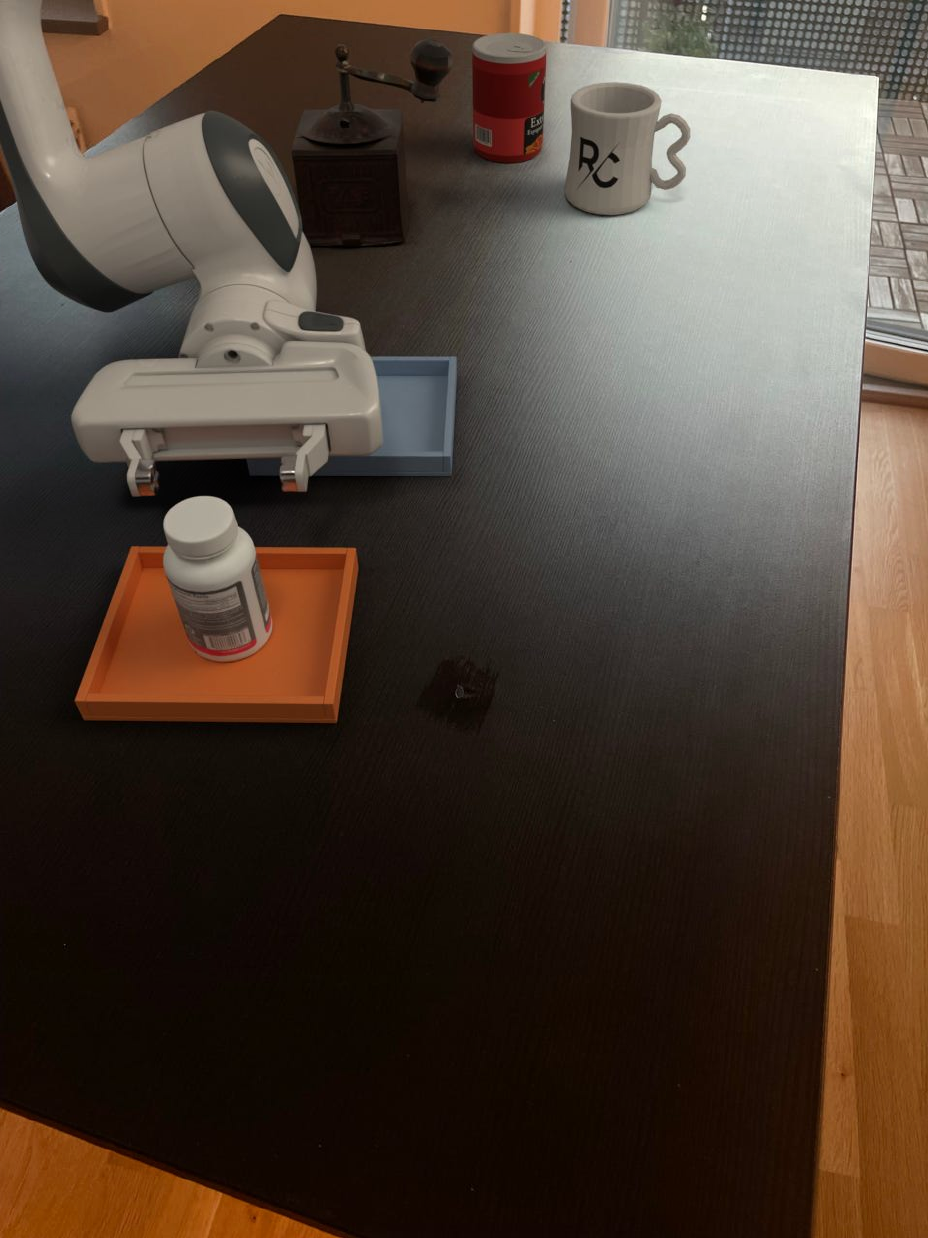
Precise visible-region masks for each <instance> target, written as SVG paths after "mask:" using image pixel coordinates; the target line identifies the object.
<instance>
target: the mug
mask: <svg viewBox="0 0 928 1238" xmlns="http://www.w3.org/2000/svg"><path fill="white" fill-rule="evenodd" d="M661 107H662V98H661V97H660V95H659V94H658V92H656V91H655V90H653V89H651V88H648V87H646V86H642V85H640V84H635V83H629V82H617V81H616V82H614V81H612V82H610V81H609V82H600V83H592V84H588V85H585V86H583V87H580V88H579V89H577V90H576V91H575V92H574V93H573V94H572V95H571V97H570V118H571V120H570V121H571V122H570V123H571V138H570V149H569V160H568V165H567V170H566V176H565V181H564V194H565V197H566V199H567V200H568V202H569V203H570V204H571V205H572V206H573V207H575V208H577V209H578V210H580V211H584V212H586V213H589V214H594V215H600V216H601V215H603V216H618V215H625V214H629V213H632V212H636V211H638V210H639V209H641V208H642V207H644V206H645V205H646V204H647V203H648V202H649V200H650V199H651V195H652V190H653V185H654V186H655V187H656V188H657V189H660V190H664V191H668V190H671V189H674V188H675V187H677V186H679V185H680V184H681V183H682V182H683V181H684V179H685V178H686V175H687V167H686V165H685V164H684V162H683V160H681V159H680V157H678V156H677V154H678V153H679V152H680V151H681V150H683V149H684V148H685V146H687V145H688V143H689V141H690V139H691V127H690V126H689V124H688V122H687V121H686V120H685V119H684V118H683V117H682V116H681V115H679V114H675V113H669V114H665V115H663V116H662V117H660V118H659V116H660V112H661ZM670 124H672V125H675V126H676V127H677V128H678V129H679V131H680V132H681V136H680V137H679V138H678V139H677V140H676V141H675V142H673V143H672V144H671V145H670V146H669V147H668V148H667V150H666V157H667V161H668V162H669V163H670V165H671V166H672V167H673V168H674V169H675V170H676V171H677V173H676V174H675V175H674V176H673V177H671V178H669V179H667V180H664V179H662V178H661V177H660V175H659V173H658V170H657V169H656V168H653V154H654V153H653V152H654V143H655V134H656V133H657V132H659V131H660V130H663V129H665V128H666V127H667V126H668V125H670Z"/></svg>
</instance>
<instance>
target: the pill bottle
mask: <svg viewBox="0 0 928 1238" xmlns="http://www.w3.org/2000/svg"><path fill="white" fill-rule="evenodd" d="M162 526H163V532H164V535H165V538H166V542H167V546H166V547H167V548H166V550H165V553H164V557H163V566H164V570H165V574H166V577H167V580H168V582H169V585H170V588H171V591H172V594H173V597H174V600H175V603H176V606H177V609H178V612H179V615H180V618H181V621H182V624H183V626H184V629H185V632H186V635H187V637H188V640H189V643H190V645H191V647H192V648H193V649H194V650H195V651H196V652H197V654H198V655H200V656H202V657H203V658H206V659H209V660H212V661H217V662H230V661H236V660H240V659H243V658H246V657H248V656H250V655H252V654H254V653H255V652H257V651H258V650H259V649H260V648H261V647H262V646H263V645H264V644H265V643H266V641H267V640H268V638H269V636H270V634H271V631H272V618H271V614H270V608H269V605H268V601H267V597H266V593H265V589H264V585H263V581H262V577H261V572H260V568H259V564H258V559H257V555H256V550H255V547H256V546H255V544H254V540H253V539H252V538H251V536H250V534H249V533H248V532H247V531H246V530H245V529H244V528H242V527H241V526H238V522H237V519H236V516H235V513H234V511H233V508H232V506H231V505H230V504H229V503H228V502H227V501H225V500H223V499H222V498H220V497H217V496H211V495H198V496H193V497H189V498H185V499H184V500H181V501H180V502H178V503H176V504H175V505H174V506H172V507H171V508H170V509H169V510H168V511H167V513H166V514H165V516H164V519H163V522H162Z"/></svg>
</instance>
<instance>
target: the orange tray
mask: <svg viewBox="0 0 928 1238" xmlns="http://www.w3.org/2000/svg"><path fill="white" fill-rule="evenodd" d="M254 547H255V550H256V555H257V559H258V564H259V568H260V572H261V577H262V581H263V585H264V589H265V593H266V597H267V601H268V605H269V608H270V614H271V618H272V631H271V634H270V636H269V638H268V640H267V641H266V643H265V644H264V645H263V646H262V647H261V648H260V649H259V650H258V651H257V652H255V653H254V654H252V655H250V656H248V657H246V658H243V659H240V660H236V661H230V662H217V661H212V660H209V659H206V658H203V657H202V656H200V655H198V654H197V652H196V651H195V650H194V649H193V648H192V647H191V645H190V643H189V640H188V637H187V635H186V632H185V629H184V626H183V624H182V621H181V618H180V615H179V612H178V609H177V606H176V603H175V600H174V597H173V594H172V591H171V588H170V585H169V582H168V580H167V577H166V574H165V570H164V566H163V557H164V553H165V550H166V548H167V546H139V545H136V546H135V545H134V546H133V545H132V546H131V547H130V549H129V552H128V555H127V557H126V559H125V562H124V566H123V568H122V571H121V573H120V576H119V579H118V582H117V585H116V587H115V590H114V593H113V595H112V598H111V601H110V604H109V606H108V609H107V611H106V615H105V617H104V620H103V622H102V624H101V625H102V626H101V627H100V631H99V633H98V637H97V639H96V640H95V641H96V642H95V645H94V646H93V650H92V653H91V655H90V658H89V660H88V663H87V666H86V669H85V671H84V674H83V677H82V680H81V681H80V685H79V688H78V691H77V692H76V695H75V698H74V703H75V705H76V707H77V708H78V711H79V713H80V715H81V717H82V719H83V721H107V722H108V721H111V722H112V721H113V722H118V721H119V722H129V721H130V722H194V723H196V722H197V723H198V722H203V723H205V722H206V723H208V722H209V723H281V724H282V723H285V724H287V723H289V724H291V723H292V724H296V723H297V724H298V723H299V724H337V722H338V717H339V708H340V703H341V697H342V696H341V695H342V689H343V681H344V674H345V666H346V660H347V653H348V645H349V639H350V632H351V624H352V618H353V612H354V611H353V609H354V604H355V603H354V601H355V598H356V597H355V596H356V589H357V583H358V575H359V562H358V561H359V560H358V553H357V548H356V547H298V546H297V547H293V546H292V547H289V546H288V547H287V546H286V547H285V546H284V547H282V546H281V547H280V546H279V547H278V546H277V547H275V546H271V547H270V546H267V547H265V546H254Z"/></svg>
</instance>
